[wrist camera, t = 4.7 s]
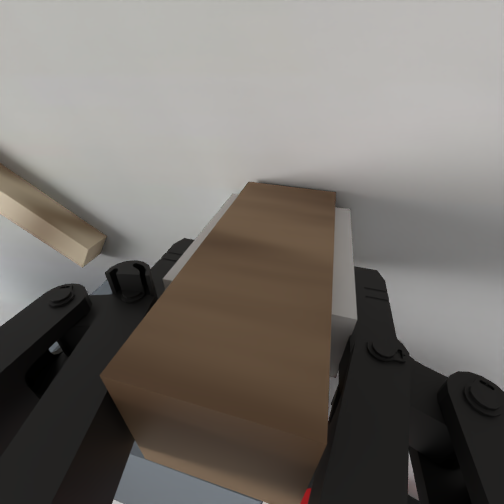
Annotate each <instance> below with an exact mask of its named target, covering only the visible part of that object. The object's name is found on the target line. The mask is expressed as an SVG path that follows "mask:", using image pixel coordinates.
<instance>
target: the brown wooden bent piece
mask: <svg viewBox="0 0 504 504" xmlns="http://www.w3.org/2000/svg"><path fill="white" fill-rule="evenodd" d="M335 202H336V192H329V191H321V190H313V189H304V188H296V187H288V186H280V185H271V184H263V183H255V182H248V184H247V185H246V186H245V187H244V189H243V190H242V191H241V193H240V194H239V195H238V197H237V198H236V199H235V200H234V202H233V203H232V204H231V206H230V207H229V208H228V209H227V211H226V212H225V213H224V215H223V216H222V217H221V219H220V220H219V221H218V222H217V224H216V225H215V226H214V228H213V229H212V230H211V232H210V233H209V234H208V235H207V237H206V238H205V239H204V241H203V242H202V243H201V244H200V246H199V247H198V248H197V250H196V251H195V252H194V254H193V255H192V256H191V257H190V259H189V260H188V261H187V263H186V264H185V265H184V267H183V268H182V269H181V270H180V272H179V273H178V274H177V276H176V277H175V278H174V279H173V281H172V282H171V283H170V285H169V286H168V287H167V289H166V290H165V291H164V292H163V294H162V295H161V296H160V298H159V299H158V300H157V302H156V303H155V304H154V305H153V307H152V308H151V309H150V311H149V312H148V313H147V314H146V316H145V317H144V318H143V320H142V321H141V322H140V324H139V325H138V326H137V327H136V329H135V330H134V331H133V333H132V334H131V335H130V337H129V338H128V339H127V340H126V342H125V343H124V344H123V346H122V347H121V348H120V350H119V351H118V352H117V353H116V355H115V356H114V357H113V359H112V360H111V361H110V362H109V364H108V365H107V366H106V368H105V369H104V370H103V372H102V373H101V374H100V377H101V379H102V381H103V383H104V385H105V386H106V388H107V390H108V392H109V394H110V395H111V397H112V399H113V401H114V403H115V405H116V406H117V408H118V410H119V412H120V414H121V416H122V417H123V419H124V421H125V423H126V425H127V427H128V428H129V430H130V432H131V434H132V436H133V437H134V439H135V441H136V443H137V445H138V447H139V448H140V450H141V452H142V454H143V456H144V458H145V459H147V460H150V461H153V462H155V463H158V464H161V465H164V466H166V467H169V468H172V469H175V470H178V471H180V472H183V473H186V474H189V475H191V476H194V477H197V478H200V479H203V480H205V481H208V482H211V483H214V484H216V485H219V486H222V487H225V488H228V489H230V490H233V491H236V492H239V493H241V494H244V495H247V496H250V497H253V498H255V499H258V500H261V501H264V502H266V503H269V504H300V503H301V501H302V499H303V496H304V494H305V492H306V490H307V487H308V485H309V483H310V481H311V479H312V476H313V474H314V472H315V470H316V468H317V465H318V463H319V461H320V459H321V456H322V454H323V452H324V450H325V448H326V445H327V431H328V402H329V373H330V345H331V316H332V288H333V259H334V231H335Z"/></svg>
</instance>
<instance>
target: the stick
mask: <svg viewBox="0 0 504 504" xmlns="http://www.w3.org/2000/svg"><path fill="white" fill-rule="evenodd" d="M0 214H1V215H3V216H4V217H6V218H7V219H9V220H11V221H12V222H14V223H15V224H17V225H18V226H20V227H21V228H23V229H24V230H26V231H27V232H29V233H30V234H32V235H33V236H35V237H36V238H38V239H39V240H41V241H43V242H44V243H46V244H47V245H49V246H50V247H52V248H53V249H55V250H56V251H58V252H59V253H61V254H62V255H64V256H65V257H67V258H68V259H70V260H72V261H73V262H75V263H76V264H78V265H79V266H81V267H82V268H83V267H84V266H85V265H87V264H88V263H89V262H90V261H92V260H93V259H94V258H95V257H97V256H98V255H99V254H100V253H101V250H102V247H103V245H104V242H105V239H106V237H107V236H106V235H104V234H103V233H101V232H100V231H98V230H97V229H95V228H94V227H93V226H91V225H90V224H88V223H87V222H85V221H84V220H82V219H81V218H79V217H78V216H77V215H75V214H74V213H72V212H71V211H69V210H68V209H66V208H65V207H63V206H62V205H61V204H59V203H58V202H56V201H55V200H53V199H52V198H50V197H49V196H47V195H46V194H44V193H43V192H42V191H40V190H39V189H37V188H36V187H34V186H33V185H31V184H30V183H28V182H27V181H26V180H24V179H23V178H21V177H20V176H18V175H17V174H15V173H14V172H12V171H11V170H9V169H8V168H7V167H5V166H4V165H2V164H1V163H0Z"/></svg>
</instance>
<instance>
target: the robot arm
mask: <svg viewBox="0 0 504 504" xmlns="http://www.w3.org/2000/svg"><path fill="white" fill-rule="evenodd" d="M237 197H238V194H232V195H231V196H230V198H229V199H228V200H227V201H226V202H225V204H224V205H223V206H222V207H221V209H220V210H219V211H218V212H217V213H216V215H215V216H214V217H213V218H212V219H211V221H210V222H209V223H208V224H207V226H206V227H205V228H204V229H203V230H202V232H201V233H200V234H199V235H198V237H197V238H196V239H195V240H192V239H186V238H184V239H182V240H180V241H178V242H177V243H175V244H173V245H172V247H171V248H170V249H169V250H168V251H167V253H165V254H164V255H163V256H162V257H161V259H160V260H159V261H158V262H157V263H156V264H155V265H154V266H153V267H152V268H151V269H150V267H149V265H148V264H146V263H144V262H141V261H126V262H122V263H119V264H117V265H115V266H113V267H111V268H110V269H109V270H107V271H106V272H105V275H106V277H107V280H108V283H109V285H110V288H111V291H112V294H107V295H88V294H87V291H86V289H85V287H84V286H82V285H80V284H65V285H61V286H58V287H56V288H53V289H51V290H50V291H48V292H46V293H45V294H43V295H42V296H41V297H39V298H38V299H37V300H35V301H34V302H33V303H31V304H30V305H29V306H27V307H26V308H25V309H23V310H22V311H21V312H19V313H18V314H17V315H15V316H14V317H13V318H11V319H10V320H9V321H7V322H6V323H5V324H3V325H2V326H0V504H112V502H113V499H114V497H115V494H116V491H117V488H118V486H119V483H120V480H121V477H122V474H123V472H124V469H125V466H126V463H127V461H128V458H129V455H130V452H131V449H132V447H133V444H134V441H135V439H134V437H133V436H132V434H131V432H130V430H129V428H128V427H127V425H126V423H125V421H124V419H123V417H122V416H121V414H120V412H119V410H118V408H117V406H116V405H115V403H114V401H113V399H112V397H111V395H110V394H109V392H108V390H107V388H106V386H105V385H104V383H103V381H102V379H101V377H100V374H101V373H102V372H103V370H104V369H105V368H106V366H107V365H108V364H109V362H110V361H111V360H112V359H113V357H114V356H115V355H116V353H117V352H118V351H119V350H120V348H121V347H122V346H123V344H124V343H125V342H126V340H127V339H128V338H129V337H130V335H131V334H132V333H133V331H134V330H135V329H136V327H137V326H138V325H139V324H140V322H141V321H142V320H143V318H144V317H145V316H146V314H147V313H148V312H149V311H150V309H151V308H152V307H153V305H154V304H155V303H156V302H157V300H158V299H159V298H160V296H161V295H162V294H163V292H164V291H165V290H166V289H167V287H168V286H169V285H170V283H171V282H172V281H173V279H174V278H175V277H176V276H177V274H178V273H179V272H180V270H181V269H182V268H183V267H184V265H185V264H186V263H187V261H188V260H189V259H190V257H191V256H192V255H193V254H194V252H195V251H196V250H197V248H198V247H199V246H200V244H201V243H202V242H203V241H204V239H205V238H206V237H207V235H208V234H209V233H210V232H211V230H212V229H213V228H214V226H215V225H216V224H217V222H218V221H219V220H220V219H221V217H222V216H223V215H224V213H225V212H226V211H227V209H228V208H229V207H230V206H231V204H232V203H233V202H234V200H235V199H236V198H237ZM56 341H57V343H58V344H59V346H60V348H59V349H57V350H56V351H54V352H50V351H49V348H50V347H51V346H52V345H53V344H54V343H55V342H56ZM338 371H339V384H338V387H337V390H336V392H335V395H334V397H333V400H332V402H331V405H332V408H331V412H330V416H329V420H328V431H327V445H326V448H325V450H324V452H323V454H322V456H321V459H320V461H319V463H318V465H317V468H316V472H315V476H314V480H313V484H312V488H311V492H310V496H309V500H308V504H407V499H408V455H409V454H410V458H411V463H412V468H413V473H414V478H415V482H416V487H417V492H418V497H419V502H420V504H504V392H503V391H502V390H501V389H500V388H499V387H498V386H497V385H496V384H494V383H492V382H491V381H489V380H487V379H486V378H484V377H482V376H480V375H477V374H474V373H471V372H456V373H454V374H452V375H450V376H449V378H448V377H446V376H444V375H442V374H440V373H438V372H436V371H434V370H431V369H429V368H427V367H425V366H423V365H422V364H420V363H418V362H417V361H415V360H414V359H413V358H411V357H410V356H409V353H408V351H407V350H406V348H405V347H404V345H403V344H402V343H401V342H400V341H399V340H397V337H396V333H395V328H394V323H393V318H392V313H391V308H390V303H389V298H388V293H387V288H386V283H385V280H384V279H383V277H382V276H381V275H380V274H379V272H378V271H377V270H371V269H366V268H360V267H354V260H353V244H352V228H351V213H350V209H345V208H338V207H335V231H334V259H333V288H332V316H331V345H330V373H329V376H331V377H335V378H336V376H337V373H338Z"/></svg>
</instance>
